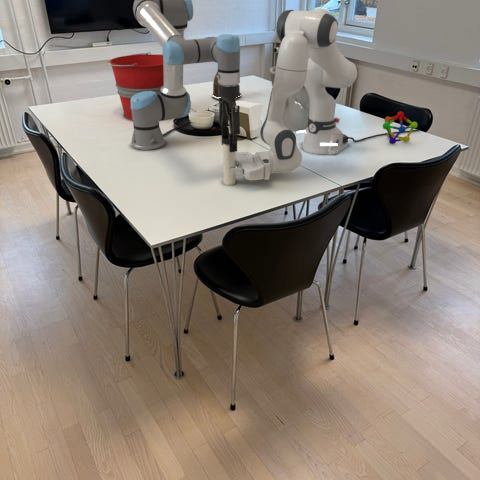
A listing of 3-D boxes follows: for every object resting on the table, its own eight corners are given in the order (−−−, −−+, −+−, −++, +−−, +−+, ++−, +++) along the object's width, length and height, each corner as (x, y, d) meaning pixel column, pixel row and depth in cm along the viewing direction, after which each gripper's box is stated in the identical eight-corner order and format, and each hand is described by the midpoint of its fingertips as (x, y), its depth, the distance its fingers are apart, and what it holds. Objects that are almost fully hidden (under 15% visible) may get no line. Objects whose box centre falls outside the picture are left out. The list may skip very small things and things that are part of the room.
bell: (227, 105, 294) (202, 96, 282) (238, 66, 289) (213, 55, 277) (243, 108, 280) (217, 98, 268) (255, 66, 275) (229, 55, 263)
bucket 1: (123, 105, 263) (116, 51, 247) (182, 106, 262) (179, 52, 247) (107, 123, 234) (97, 63, 218) (173, 124, 233) (168, 64, 217)
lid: (232, 139, 166) (232, 134, 165) (238, 143, 162) (238, 138, 161) (220, 141, 164) (219, 136, 163) (225, 145, 160) (225, 140, 159)
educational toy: (377, 146, 209) (379, 114, 202) (384, 138, 219) (386, 107, 211) (411, 149, 202) (415, 116, 195) (417, 141, 212) (420, 109, 204)
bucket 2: (296, 138, 215) (301, 78, 201) (255, 124, 234) (256, 68, 219) (335, 125, 232) (342, 70, 217) (294, 113, 251) (297, 61, 236)
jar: (235, 185, 170) (235, 141, 161) (223, 185, 170) (222, 141, 160) (235, 179, 174) (235, 136, 165) (223, 180, 174) (222, 136, 164)
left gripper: (208, 79, 159) (210, 140, 171) (229, 91, 143) (230, 158, 155) (228, 77, 161) (228, 138, 173) (250, 89, 146) (249, 155, 158)
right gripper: (252, 146, 179) (219, 150, 175) (271, 165, 162) (235, 169, 158) (252, 161, 182) (219, 165, 178) (270, 181, 165) (235, 185, 162)
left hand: (229, 147), depth 164 cm, fingers open, 7 cm apart
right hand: (227, 167), depth 168 cm, fingers closed on jar, 5 cm apart
